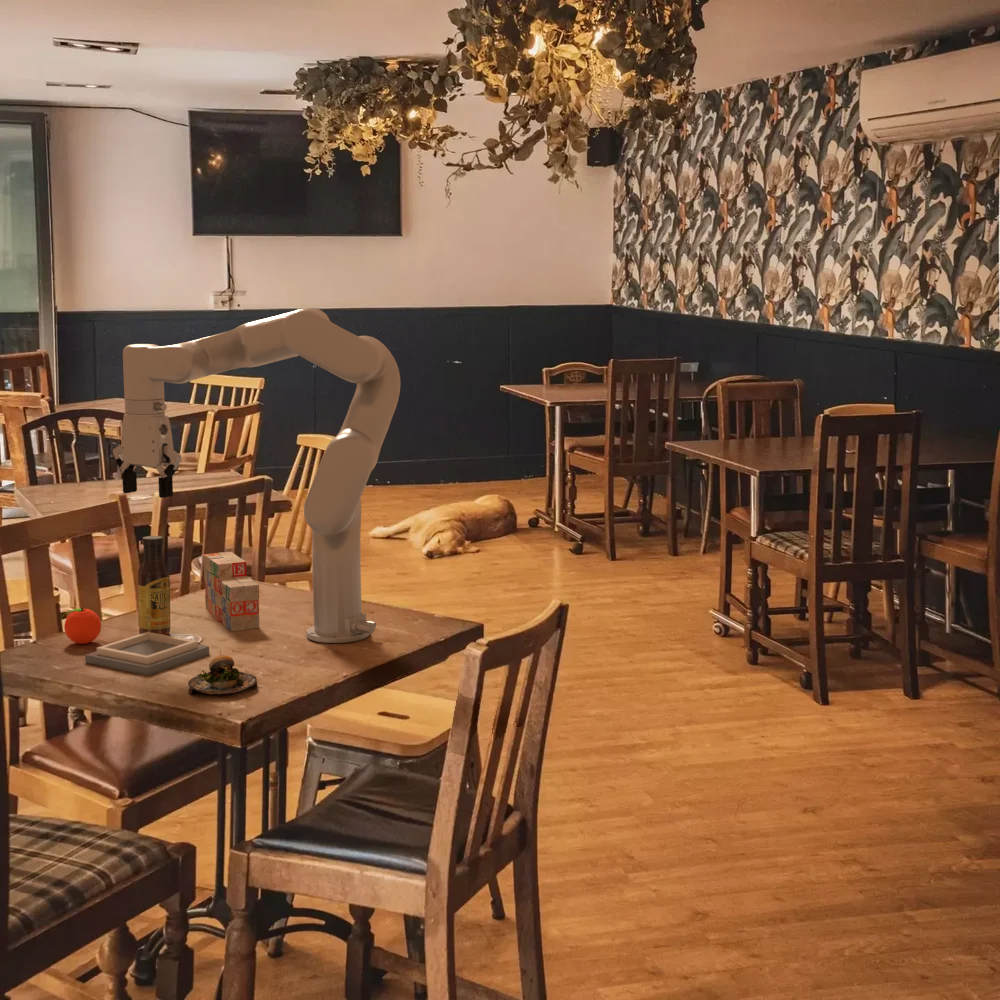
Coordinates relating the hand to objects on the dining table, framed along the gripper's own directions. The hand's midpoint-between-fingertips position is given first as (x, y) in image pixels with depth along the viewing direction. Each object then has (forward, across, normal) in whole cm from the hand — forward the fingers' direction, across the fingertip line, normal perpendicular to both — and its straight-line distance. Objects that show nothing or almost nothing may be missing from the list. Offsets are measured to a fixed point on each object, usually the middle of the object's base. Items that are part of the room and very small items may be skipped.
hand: (147, 494), depth 268 cm
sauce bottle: (+29, 0, 0) cm, 29 cm away
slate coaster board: (+28, -12, +13) cm, 33 cm away
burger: (+29, -36, +20) cm, 50 cm away
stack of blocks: (+29, -5, -18) cm, 34 cm away
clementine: (+29, +8, +12) cm, 32 cm away
